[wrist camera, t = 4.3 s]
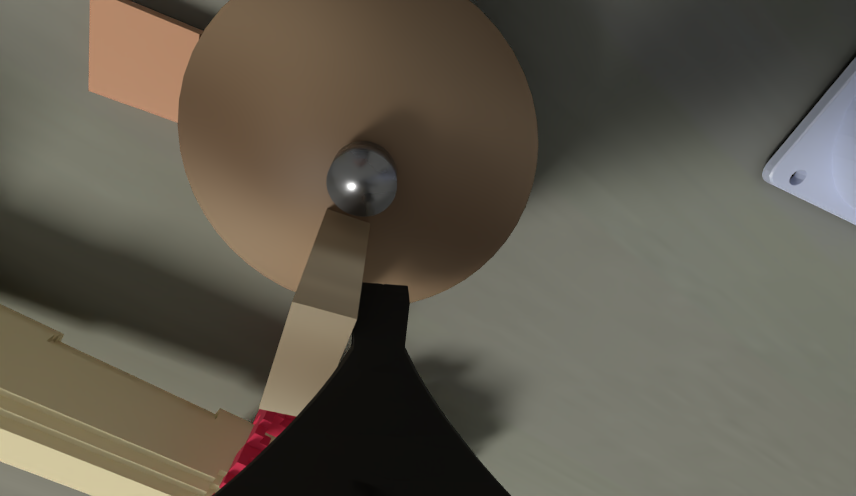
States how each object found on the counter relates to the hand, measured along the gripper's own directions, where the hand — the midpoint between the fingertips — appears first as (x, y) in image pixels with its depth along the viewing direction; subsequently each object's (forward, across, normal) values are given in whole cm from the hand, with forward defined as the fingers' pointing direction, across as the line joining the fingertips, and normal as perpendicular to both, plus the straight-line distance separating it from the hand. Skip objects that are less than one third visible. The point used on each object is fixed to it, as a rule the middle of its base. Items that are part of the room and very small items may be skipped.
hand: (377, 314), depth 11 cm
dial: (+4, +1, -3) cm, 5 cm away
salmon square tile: (+4, +6, -5) cm, 9 cm away
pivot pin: (+1, +1, -3) cm, 4 cm away
